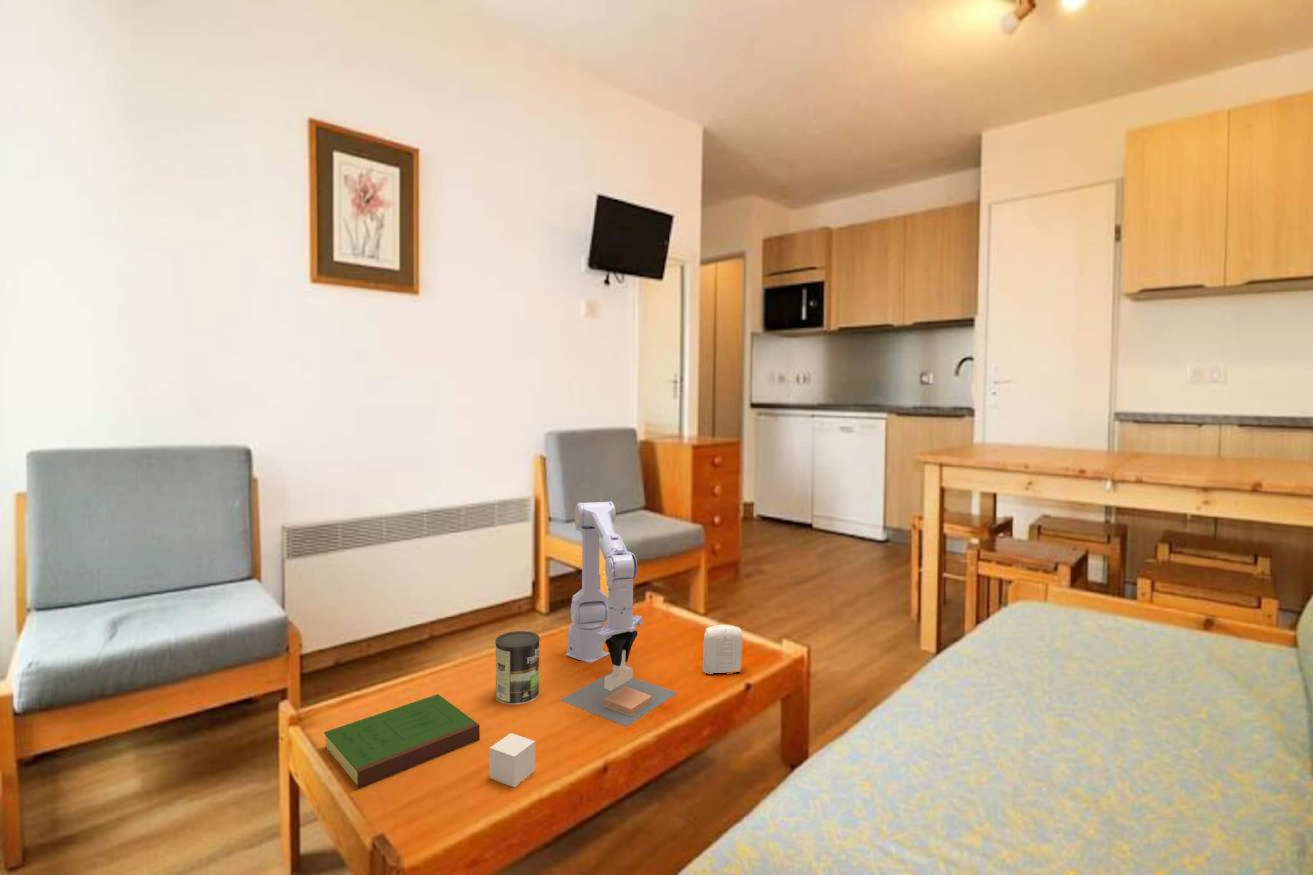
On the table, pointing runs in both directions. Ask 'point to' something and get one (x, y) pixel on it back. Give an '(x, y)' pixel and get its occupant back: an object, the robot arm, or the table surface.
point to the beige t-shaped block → (618, 675)
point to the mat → (595, 693)
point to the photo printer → (722, 649)
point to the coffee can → (517, 667)
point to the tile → (628, 701)
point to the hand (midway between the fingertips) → (619, 662)
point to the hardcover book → (400, 739)
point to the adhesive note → (512, 759)
